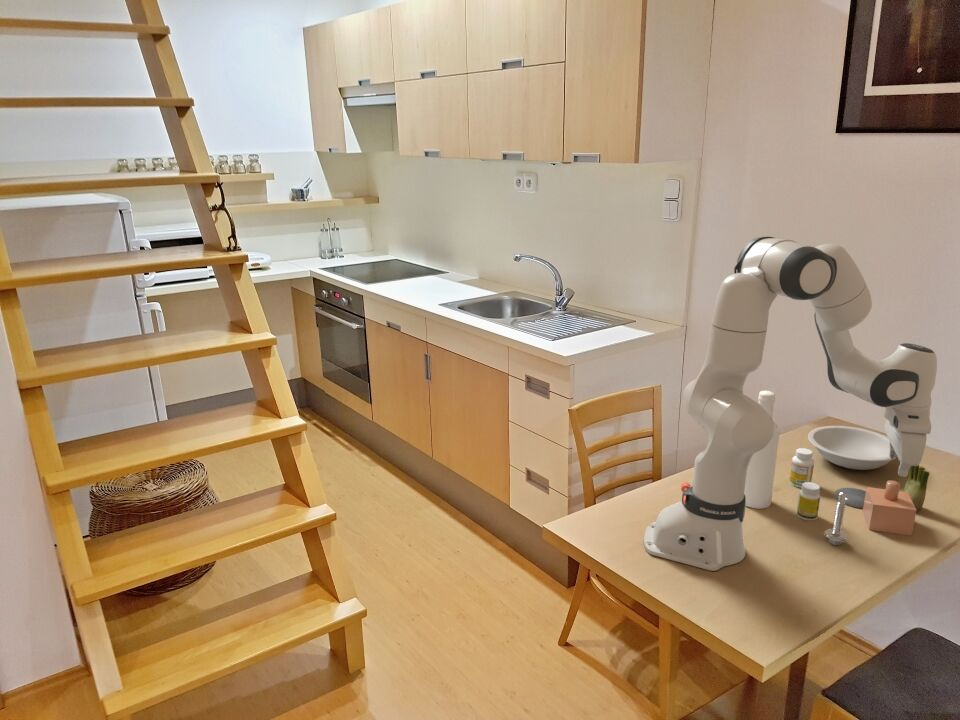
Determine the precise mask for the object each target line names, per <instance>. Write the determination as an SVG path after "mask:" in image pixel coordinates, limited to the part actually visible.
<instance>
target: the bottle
mask: <svg viewBox="0 0 960 720" xmlns="http://www.w3.org/2000/svg"><path fill="white" fill-rule="evenodd" d="M757 400H758V402H757V403H759V404H760V405H761V406H762V407H763V408H764V409H765V410H766V412H767V413H768V414H769V415H770V416H771V418H772V419H773V416H774V415H773V414H774V406H775V401H776V394H775V393H774V391H770V390H760V392H759V394H758V397H757ZM773 422H774V434H773V437H772V439H771V441H770V442H769V443H768V445H767V446H766V447H765V448H763V449H762V450H760V451H758V452H756V453H754V455H753V456H752V458H751V460H750V463H749V466H748V470H747V476H746V483H745V491H744V494H745V500H746V507H749V508H752V509H759V510H760V509H766V508H769V507H770V506H771V504H772V498H773V488H774V480H775V472H776V463H777V457H778V456H777V455H778V447H779V442H780V441H779V440H780V439H779V438H780V431H779V430H780V429H779V427H778V424H777V423H776V422H775V421H774V420H773Z"/></svg>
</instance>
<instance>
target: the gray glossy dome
mask: <svg viewBox="0 0 960 720" xmlns="http://www.w3.org/2000/svg"><path fill="white" fill-rule="evenodd" d="M842 492H843V493H845V506H849V507H851V508H856V509H862V510H863V506H864V500H865V494H866V490H863V489H859V488H856V487H841V488H839V489H837V490H835V492H834V497H835V499H836V500H837V501H838V499H839V494H840V493H842Z"/></svg>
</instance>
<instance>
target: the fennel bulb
mask: <svg viewBox="0 0 960 720" xmlns="http://www.w3.org/2000/svg"><path fill="white" fill-rule="evenodd" d="M929 476H930V470H928V469H926V467H925V466H920V464H919V465H918V466H911V467H910V469H909V470H908V475H907V479H906V483H905V485H904V488H903V491H902V492H908V494H909V496H910V498H911V500H912V502H913V504H914V506H915V508H916V512H919V511H921V509H922V508H923V506H924V503H925V499H926V494H927V487H928V486H927V485H928V481H929Z"/></svg>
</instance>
